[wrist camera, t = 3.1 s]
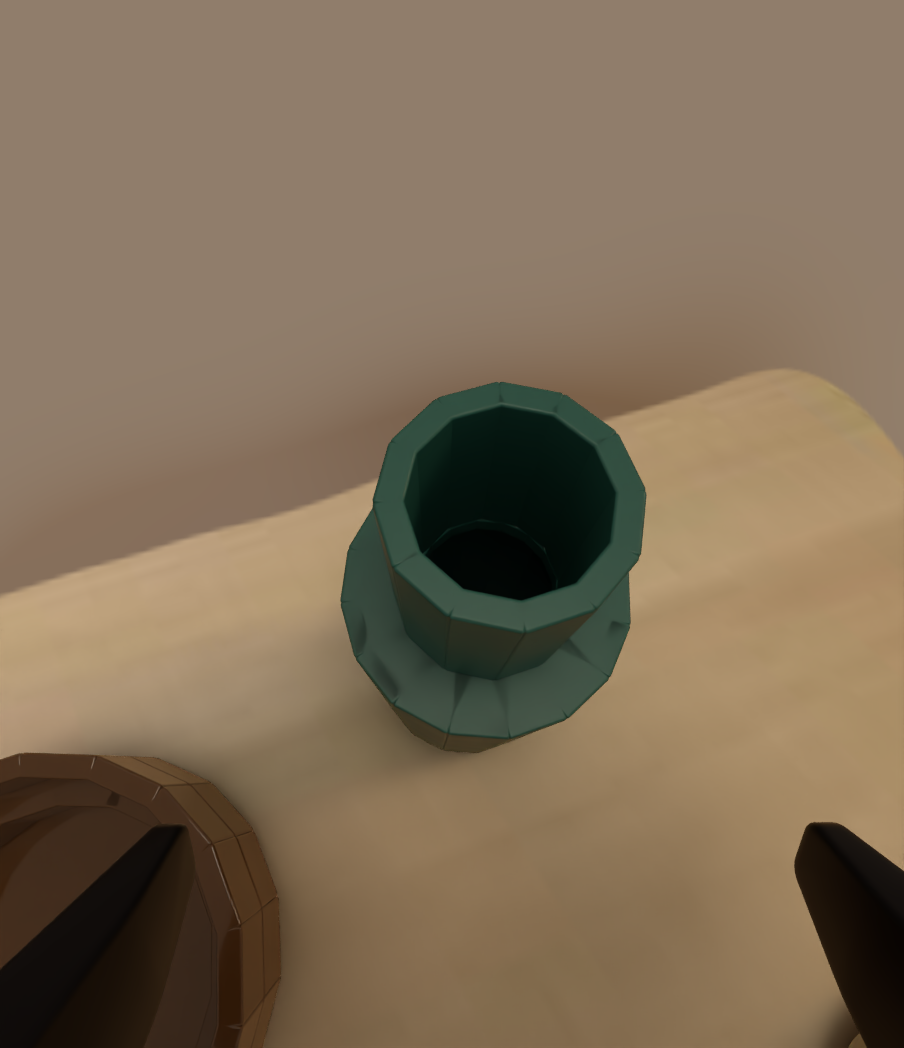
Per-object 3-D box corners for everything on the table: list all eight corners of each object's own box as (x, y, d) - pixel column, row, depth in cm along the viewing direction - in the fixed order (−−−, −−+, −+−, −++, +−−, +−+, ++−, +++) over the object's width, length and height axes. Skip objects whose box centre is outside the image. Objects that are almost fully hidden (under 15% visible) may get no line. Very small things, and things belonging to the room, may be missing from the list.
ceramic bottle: (567, 721, 20) (807, 632, 7) (411, 776, 19) (359, 791, 6) (511, 572, 22) (617, 288, 9) (367, 617, 21) (256, 378, 8)
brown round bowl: (328, 1117, 16) (292, 1229, 12) (-125, 1311, 14) (-331, 1510, 11) (247, 709, 20) (201, 694, 16) (-116, 827, 18) (-265, 843, 14)
